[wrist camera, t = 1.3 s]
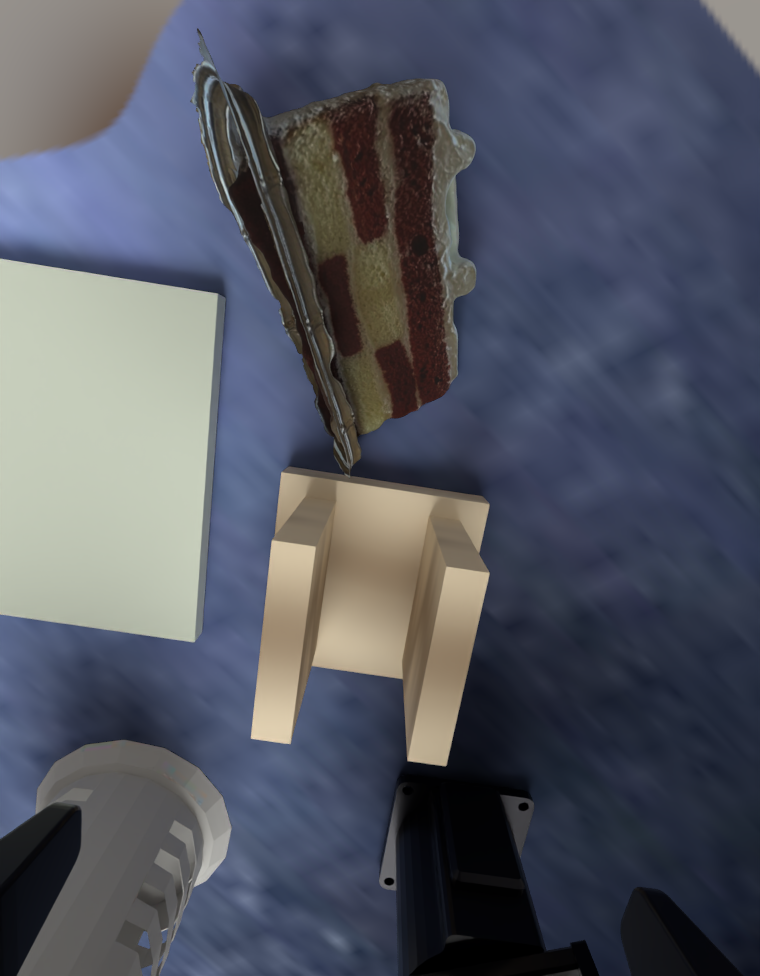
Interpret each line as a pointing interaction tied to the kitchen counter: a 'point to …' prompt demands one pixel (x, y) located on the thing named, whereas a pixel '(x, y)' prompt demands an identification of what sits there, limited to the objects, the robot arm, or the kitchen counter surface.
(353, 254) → the chocolate cake
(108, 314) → the sage board
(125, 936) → the french press
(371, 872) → the kitchen counter surface
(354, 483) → the wooden slotted holder
